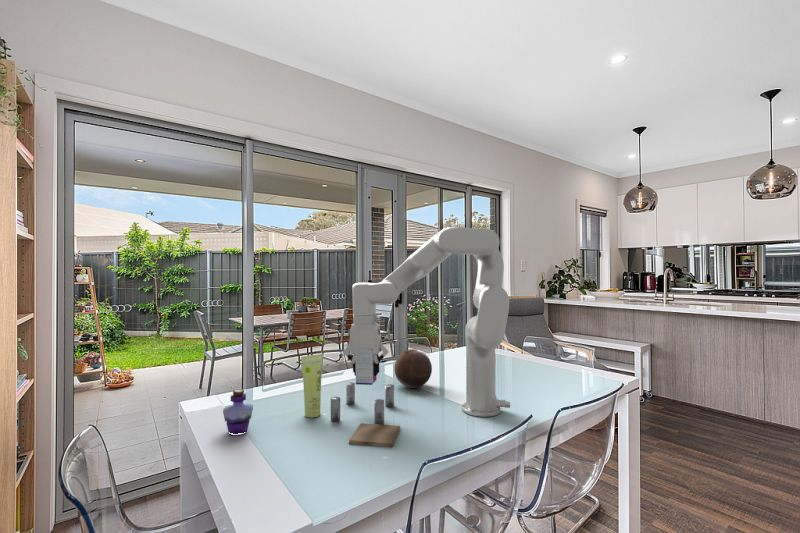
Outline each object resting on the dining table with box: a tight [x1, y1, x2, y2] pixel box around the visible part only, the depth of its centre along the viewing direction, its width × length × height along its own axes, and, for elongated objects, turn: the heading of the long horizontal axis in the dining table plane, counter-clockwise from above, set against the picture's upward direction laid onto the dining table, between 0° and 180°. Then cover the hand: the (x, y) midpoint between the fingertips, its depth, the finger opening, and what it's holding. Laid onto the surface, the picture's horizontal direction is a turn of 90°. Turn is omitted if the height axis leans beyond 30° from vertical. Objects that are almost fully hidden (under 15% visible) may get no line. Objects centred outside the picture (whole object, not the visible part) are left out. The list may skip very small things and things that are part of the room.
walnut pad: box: [348, 422, 401, 448], centre depth 112 cm, size 12×12×1 cm
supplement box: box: [355, 349, 378, 386], centre depth 130 cm, size 6×6×12 cm
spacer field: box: [330, 381, 395, 425], centre depth 130 cm, size 17×19×7 cm
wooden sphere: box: [394, 348, 433, 389], centre depth 159 cm, size 15×15×15 cm
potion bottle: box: [222, 389, 254, 434], centre depth 115 cm, size 9×9×12 cm
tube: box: [300, 353, 324, 418], centre depth 128 cm, size 6×5×20 cm
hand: (366, 374), depth 130 cm, fingers closed on supplement box, 5 cm apart
